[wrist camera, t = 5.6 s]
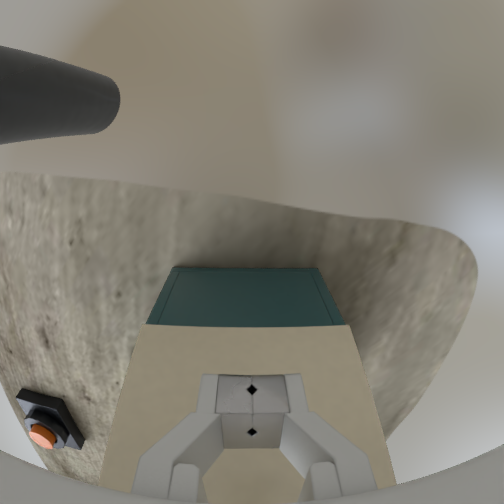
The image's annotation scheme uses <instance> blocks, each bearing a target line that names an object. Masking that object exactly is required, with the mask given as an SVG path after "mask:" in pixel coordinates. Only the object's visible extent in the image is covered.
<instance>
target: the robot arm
mask: <svg viewBox="0 0 504 504" xmlns="http://www.w3.org/2000/svg"><path fill="white" fill-rule="evenodd" d="M247 448H280V449H279V450H280V451H281V452H282V453H283V454H284V456H285V457H286V458H287V459H288V460H289V462H290V463H291V464H292V465H293V466H294V467H295V469H296V470H297V471H298V472H299V473H300V474H301V475H302V477H303V478H304V479H305V481H304V484H303V487H302V490H301V492H300V495H299V498H298V500H297V502H294V503H279V504H504V444H503V445H501V446H499V447H497V448H495V449H493V450H491V451H489V452H486V453H484V454H482V455H480V456H478V457H475V458H473V459H471V460H468V461H466V462H464V463H461V464H459V465H456V466H454V467H451V468H448V469H446V470H443V471H440V472H437V473H434V474H431V475H429V476H425V477H422V478H419V479H416V480H412V481H409V482H406V483H402V484H398V485H394V486H391V487H387V488H382V489H378V488H377V484H376V481H375V478H374V475H373V471H372V468H371V465H370V462H369V458H368V455H367V454H366V453H365V452H363V451H362V450H361V449H359V448H358V447H357V446H356V445H354V444H353V443H352V442H351V441H349V440H348V439H347V438H346V437H344V436H343V435H342V434H341V433H339V432H338V431H337V430H336V429H335V428H333V427H332V426H331V425H330V424H328V423H327V422H326V421H325V420H324V419H322V418H321V417H320V416H319V415H318V414H317V413H315V412H314V411H313V412H309V408H308V403H307V399H306V394H305V389H304V385H303V380H302V375H301V374H300V373H295V374H284V375H283V374H275V375H230V374H204V373H203V374H202V376H201V380H200V386H199V393H198V400H197V406H196V412H190V413H189V414H188V415H187V416H186V417H185V418H184V419H183V420H181V421H180V422H179V423H178V424H177V425H176V426H175V427H174V428H172V429H171V430H170V431H169V432H168V433H167V434H166V435H164V436H163V437H162V438H161V439H160V440H159V441H158V442H156V443H155V444H154V445H153V446H152V447H151V448H149V449H148V450H147V451H146V452H145V453H143V454H142V455H141V456H140V457H139V461H138V465H137V469H136V473H135V477H134V481H133V485H132V489H131V493H127V492H122V491H118V490H113V489H109V488H105V487H101V486H97V485H93V484H89V483H86V482H82V481H79V480H76V479H73V478H69V477H66V476H63V475H60V474H57V473H54V472H52V471H49V470H46V469H43V468H41V467H38V466H36V465H33V464H30V463H28V462H26V461H23V460H21V459H19V458H16V457H14V456H12V455H10V454H7V453H5V452H3V451H1V450H0V504H212V503H208V500H207V496H206V492H205V488H204V484H203V480H202V477H203V476H204V475H205V473H206V472H207V471H208V470H209V468H210V467H211V466H212V465H213V463H214V462H215V461H216V460H217V458H218V457H219V456H220V455H221V453H222V452H223V451H224V449H247Z"/></svg>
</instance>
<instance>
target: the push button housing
mask: <svg viewBox="0 0 504 504" xmlns="http://www.w3.org/2000/svg"><path fill="white" fill-rule="evenodd" d="M16 399H17V401H18V402H19V404H20V406H21V408H22V409H23V411H24V412H25V414H26V418H25V426H26V427H27V429H28V430H29V432H30V430H31V428H32V427H33V425H34V424H37V425H40V426H42V427H44V428H46V429H47V430H49V431H50V432H51V433H52V434H53V435H54V436H55V437H56V441H55V443H54V446H53V447H54V448H64V446H68V447H71V448H75V449H78V450H81V449H82V446H83V444H84V441H85V439H84V438H83V436H82V434H81V433H80V431H79V429H78V427H77V426H76V424H75V422H74V420H73V419H72V417H71V415H70V413H69V411H68V409H67V407H66V405H65V403H64V401H63V400H62V399H60V398H55V397H51V396H48V395H44V394H40V393H36V392H33V391H29V390H26V389H23V388H22V389H21V390H20V392H19V393H18V395H17V396H16Z"/></svg>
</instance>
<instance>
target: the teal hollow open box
mask: <svg viewBox="0 0 504 504" xmlns="http://www.w3.org/2000/svg"><path fill="white" fill-rule="evenodd" d="M146 324H151V325H171V326H196V327H310V326H336V325H346V324H345V322H344V320H343V318H342V316H341V314H340V312H339V310H338V308H337V306H336V304H335V302H334V300H333V298H332V296H331V294H330V292H329V290H328V288H327V286H326V284H325V282H324V280H323V278H322V276H321V274H320V272H319V270H318V268H180V267H173V268H172V269H171V272H170V274H169V276H168V278H167V280H166V282H165V284H164V286H163V288H162V290H161V292H160V294H159V297H158V299H157V301H156V303H155V305H154V307H153V309H152V311H151V313H150V316H149V318H148V320H147V322H146Z"/></svg>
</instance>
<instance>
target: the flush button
mask: <svg viewBox="0 0 504 504" xmlns="http://www.w3.org/2000/svg"><path fill="white" fill-rule="evenodd" d="M29 435H30V437H31V438H32V439H33V440H34V441H35V442H36V443H37V444H39V445H40V446H42V447H44V448H47V449H52V448H53V446H54V443H55V441H56V437H55V436H54V435H53V434H52V433H51V432H50V431H49V430H47V429H46V428H44V427H42V426H40V425H37V424H34V425H33V427H32V428H31V430H30V432H29Z"/></svg>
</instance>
